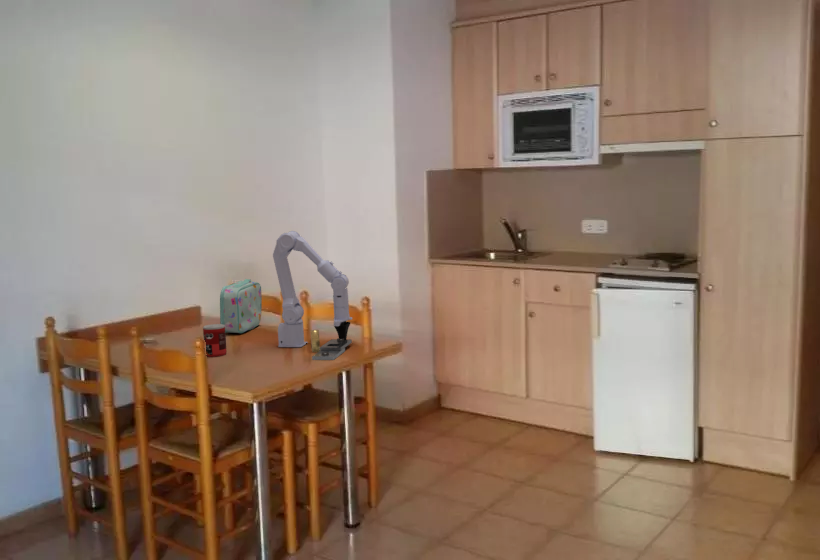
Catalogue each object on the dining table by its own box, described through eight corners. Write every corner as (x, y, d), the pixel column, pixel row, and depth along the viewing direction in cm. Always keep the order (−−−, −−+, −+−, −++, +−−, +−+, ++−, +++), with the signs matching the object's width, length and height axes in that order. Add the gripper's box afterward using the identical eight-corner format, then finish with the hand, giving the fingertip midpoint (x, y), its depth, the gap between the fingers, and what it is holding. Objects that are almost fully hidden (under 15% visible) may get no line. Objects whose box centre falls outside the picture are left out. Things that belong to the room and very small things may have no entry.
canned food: (203, 354, 306) (201, 325, 305) (224, 351, 309) (222, 323, 308) (206, 358, 299) (204, 328, 298) (228, 355, 302) (226, 326, 301)
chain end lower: (312, 359, 290) (311, 354, 289) (324, 350, 303) (324, 346, 303) (333, 360, 288) (333, 355, 288) (345, 351, 302) (344, 346, 301)
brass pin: (310, 352, 302) (309, 331, 301) (313, 350, 305) (312, 329, 304) (318, 352, 301) (317, 331, 300) (321, 350, 304) (319, 329, 303)
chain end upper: (320, 350, 298) (319, 345, 298) (331, 342, 312) (331, 337, 312) (340, 350, 296) (340, 345, 296) (351, 342, 310) (351, 337, 310)
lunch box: (243, 323, 366) (240, 276, 363) (265, 323, 364) (262, 276, 361) (218, 336, 340) (215, 285, 337) (241, 336, 338) (238, 285, 335)
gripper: (345, 309, 303) (347, 345, 305) (356, 303, 317) (358, 337, 319) (327, 309, 304) (329, 345, 306) (339, 303, 318) (340, 337, 320)
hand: (342, 341), depth 313 cm, fingers closed
